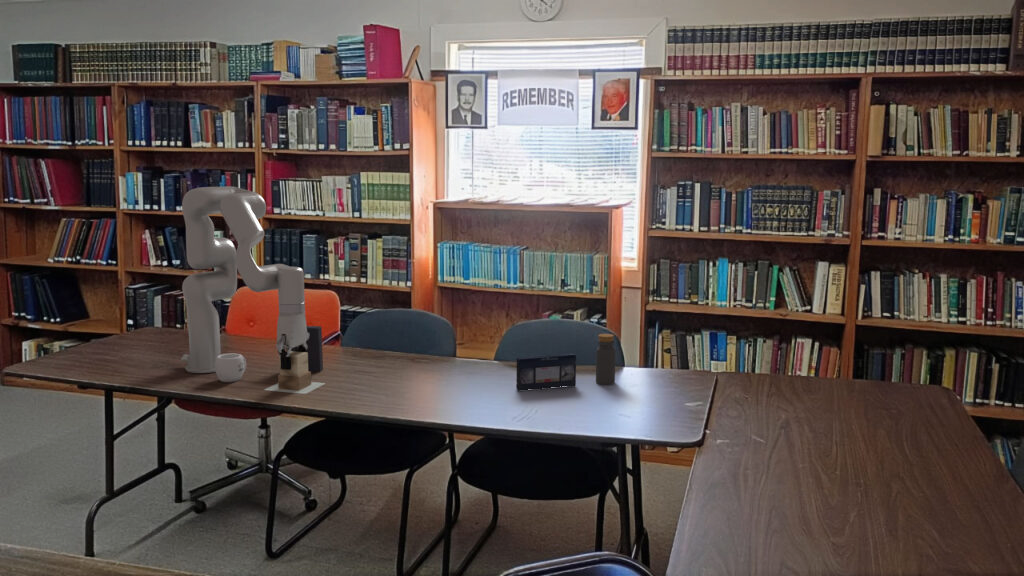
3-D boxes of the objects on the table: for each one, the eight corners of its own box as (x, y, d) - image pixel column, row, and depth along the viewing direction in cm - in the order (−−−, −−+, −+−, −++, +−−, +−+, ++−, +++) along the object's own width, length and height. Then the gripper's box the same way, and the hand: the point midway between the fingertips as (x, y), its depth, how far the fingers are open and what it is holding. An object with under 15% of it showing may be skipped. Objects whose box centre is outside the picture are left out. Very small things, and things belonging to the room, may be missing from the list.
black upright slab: (323, 370, 278) (322, 325, 276) (319, 374, 274) (318, 328, 271) (291, 369, 279) (289, 324, 277) (286, 373, 275) (284, 327, 273)
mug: (232, 385, 261) (231, 360, 260) (210, 382, 264) (208, 357, 263) (257, 375, 272) (256, 351, 271) (235, 373, 275) (234, 349, 274)
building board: (263, 391, 254) (263, 389, 254) (285, 381, 265) (285, 379, 265) (305, 395, 250) (305, 393, 250) (325, 385, 261) (325, 383, 261)
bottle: (592, 383, 264) (593, 335, 261) (600, 379, 269) (600, 332, 266) (610, 386, 261) (611, 337, 258) (617, 381, 266) (618, 334, 264)
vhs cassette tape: (518, 391, 255) (518, 359, 253) (515, 389, 258) (515, 356, 256) (576, 387, 260) (576, 355, 258) (573, 384, 263) (573, 353, 261)
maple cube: (280, 375, 255) (279, 355, 254) (290, 370, 261) (290, 351, 260) (298, 376, 253) (297, 357, 252) (308, 371, 259) (307, 352, 258)
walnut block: (278, 388, 255) (277, 375, 254) (291, 382, 262) (290, 369, 261) (299, 390, 253) (298, 377, 252) (311, 384, 260) (310, 371, 259)
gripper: (296, 303, 263) (298, 358, 266) (264, 313, 246) (267, 371, 249) (318, 304, 261) (319, 359, 264) (287, 314, 244) (289, 373, 247)
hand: (294, 365), depth 256 cm, fingers open, 8 cm apart
